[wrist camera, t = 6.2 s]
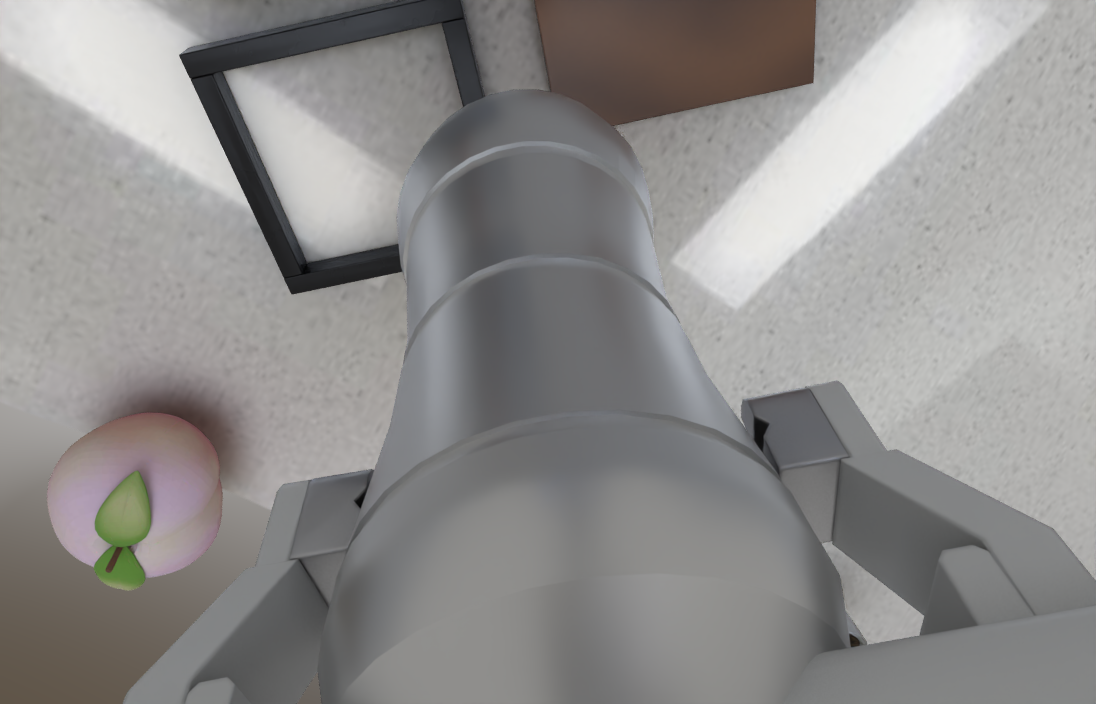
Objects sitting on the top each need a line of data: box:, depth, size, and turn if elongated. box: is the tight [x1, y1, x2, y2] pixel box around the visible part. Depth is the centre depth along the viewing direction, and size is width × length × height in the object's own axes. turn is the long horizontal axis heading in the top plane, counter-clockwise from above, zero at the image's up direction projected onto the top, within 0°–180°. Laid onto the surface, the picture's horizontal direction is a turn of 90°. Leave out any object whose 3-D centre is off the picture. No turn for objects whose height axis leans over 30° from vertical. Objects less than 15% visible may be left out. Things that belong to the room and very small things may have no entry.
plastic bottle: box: [317, 90, 851, 704], centre depth 13 cm, size 6×7×20 cm
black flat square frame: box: [179, 0, 485, 294], centre depth 34 cm, size 12×12×1 cm
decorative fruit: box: [47, 413, 222, 590], centre depth 39 cm, size 9×8×10 cm
